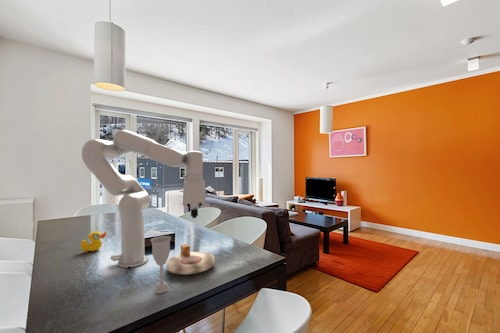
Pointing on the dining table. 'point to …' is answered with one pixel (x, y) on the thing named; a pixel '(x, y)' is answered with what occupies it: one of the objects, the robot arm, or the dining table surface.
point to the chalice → (161, 259)
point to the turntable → (190, 261)
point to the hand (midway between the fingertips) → (194, 217)
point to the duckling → (93, 242)
